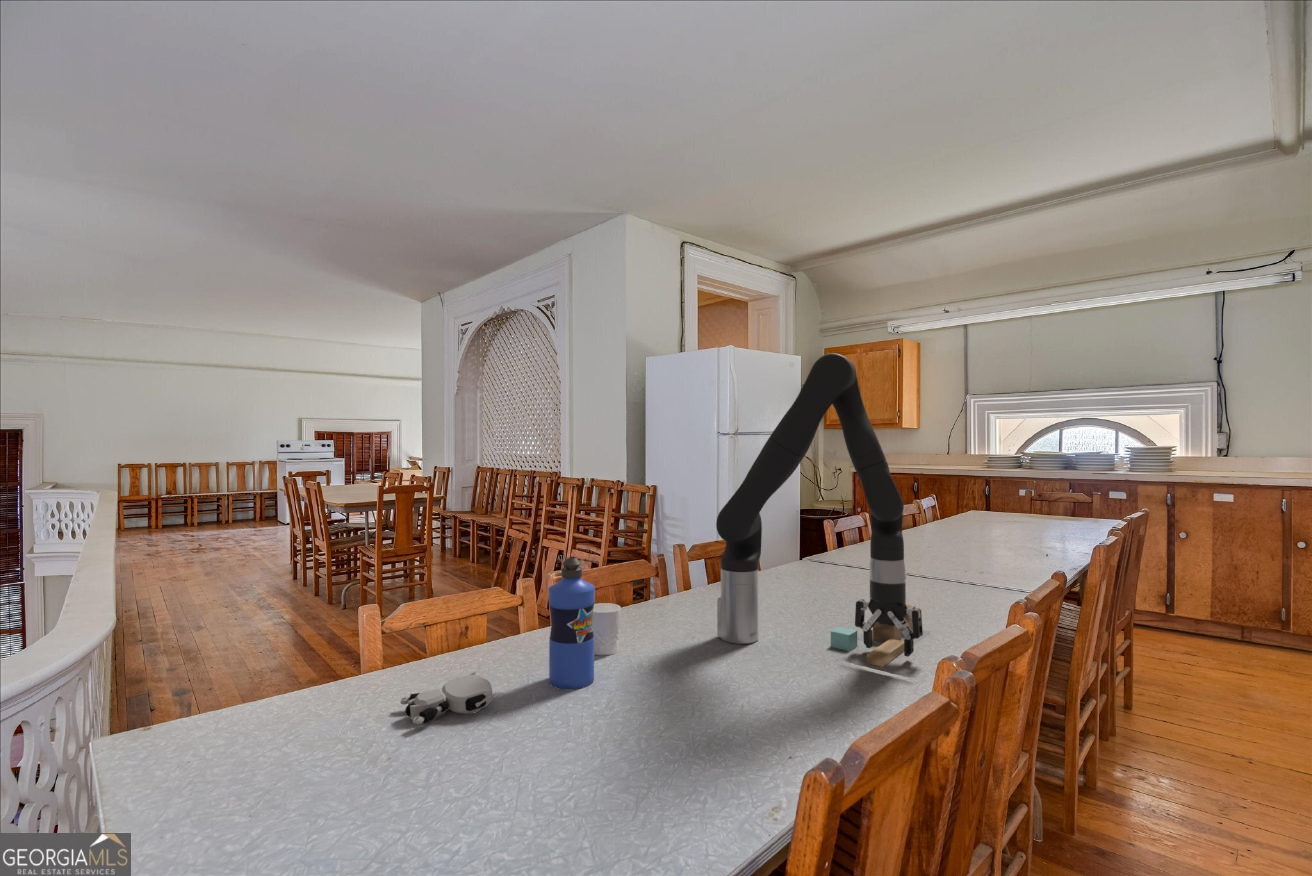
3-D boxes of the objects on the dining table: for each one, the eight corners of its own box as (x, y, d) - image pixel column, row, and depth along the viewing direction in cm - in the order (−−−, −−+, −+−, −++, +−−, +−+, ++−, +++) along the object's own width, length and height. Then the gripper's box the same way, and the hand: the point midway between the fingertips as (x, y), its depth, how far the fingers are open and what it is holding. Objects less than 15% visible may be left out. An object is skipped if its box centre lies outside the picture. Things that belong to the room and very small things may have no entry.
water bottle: (604, 680, 127) (604, 557, 127) (568, 694, 120) (568, 564, 120) (574, 668, 133) (574, 551, 133) (539, 681, 126) (539, 557, 126)
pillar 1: (872, 640, 150) (872, 615, 150) (880, 635, 153) (880, 611, 153) (893, 644, 146) (893, 619, 146) (901, 639, 150) (901, 614, 150)
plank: (866, 668, 135) (866, 654, 135) (890, 651, 145) (890, 638, 145) (882, 672, 132) (882, 658, 132) (905, 654, 143) (905, 641, 143)
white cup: (580, 653, 143) (580, 610, 143) (596, 643, 150) (596, 601, 150) (611, 658, 140) (611, 613, 140) (626, 647, 147) (626, 605, 147)
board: (856, 642, 151) (856, 638, 151) (884, 625, 164) (884, 622, 164) (906, 653, 143) (906, 649, 143) (931, 634, 157) (931, 631, 157)
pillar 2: (888, 630, 157) (888, 606, 157) (895, 626, 161) (895, 603, 161) (908, 634, 154) (908, 610, 154) (915, 630, 158) (915, 606, 158)
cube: (830, 650, 145) (830, 631, 145) (839, 645, 149) (839, 626, 149) (849, 654, 142) (849, 635, 142) (857, 649, 146) (857, 630, 146)
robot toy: (415, 742, 103) (502, 712, 112) (412, 715, 103) (500, 688, 111) (398, 714, 113) (479, 690, 122) (396, 690, 113) (478, 667, 122)
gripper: (849, 577, 141) (850, 649, 141) (914, 586, 131) (915, 663, 131) (863, 571, 146) (863, 640, 146) (926, 580, 137) (927, 654, 137)
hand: (888, 651), depth 139 cm, fingers open, 8 cm apart
